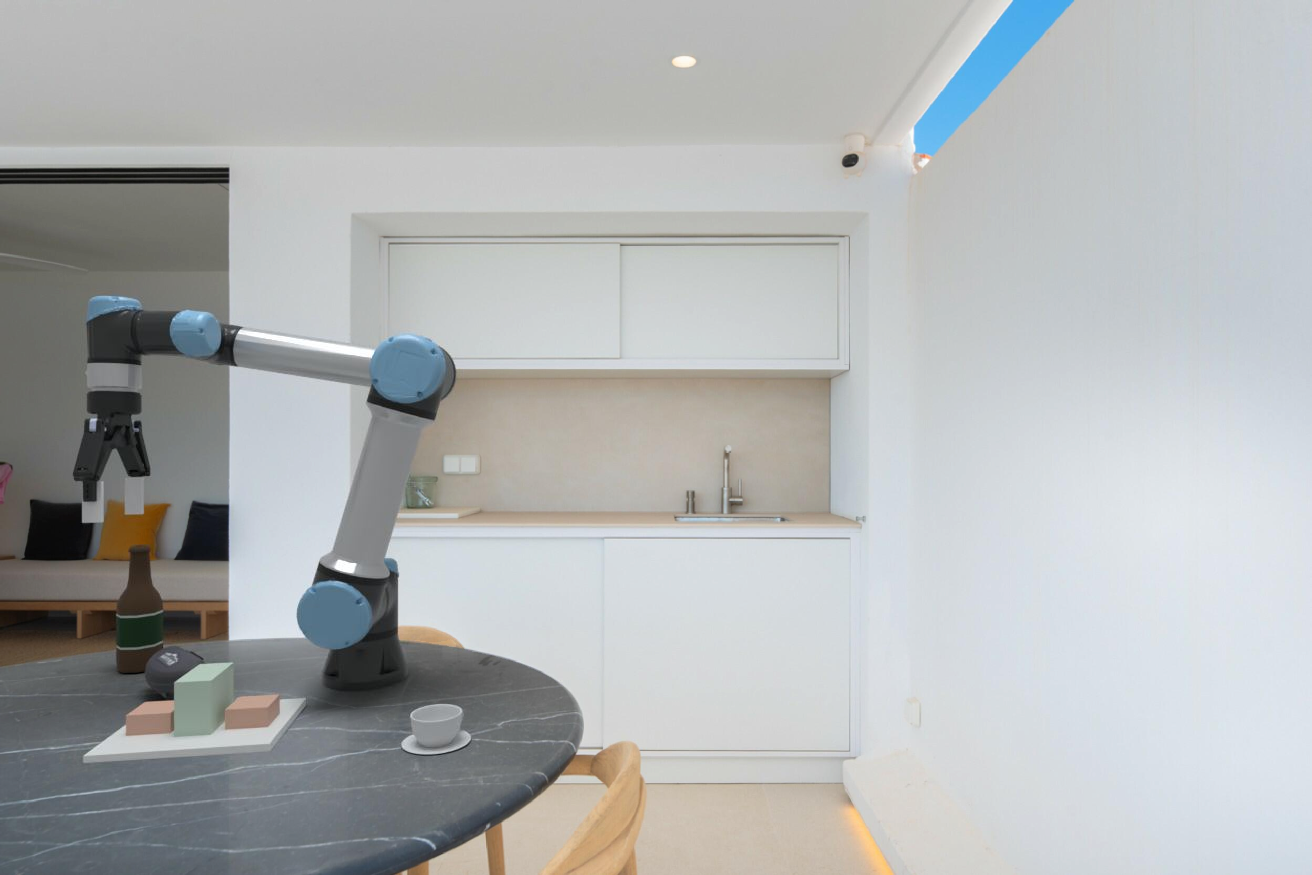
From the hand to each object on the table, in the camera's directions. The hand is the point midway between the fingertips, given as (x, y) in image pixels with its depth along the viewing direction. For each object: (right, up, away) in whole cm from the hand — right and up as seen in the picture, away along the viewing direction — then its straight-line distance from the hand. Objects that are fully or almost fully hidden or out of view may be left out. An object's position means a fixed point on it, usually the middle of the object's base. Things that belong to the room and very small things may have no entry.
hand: (114, 518), depth 130 cm
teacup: (+58, -32, -15) cm, 68 cm away
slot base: (+21, -32, -10) cm, 40 cm away
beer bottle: (-11, -32, +23) cm, 41 cm away
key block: (+21, -30, -10) cm, 39 cm away
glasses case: (+7, -32, +6) cm, 33 cm away
